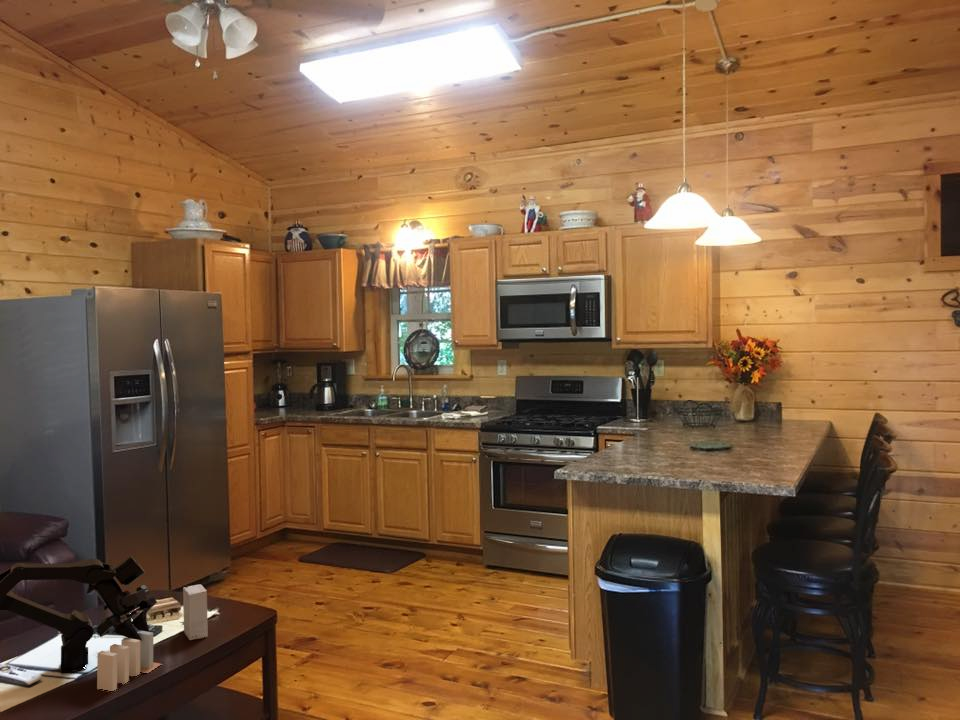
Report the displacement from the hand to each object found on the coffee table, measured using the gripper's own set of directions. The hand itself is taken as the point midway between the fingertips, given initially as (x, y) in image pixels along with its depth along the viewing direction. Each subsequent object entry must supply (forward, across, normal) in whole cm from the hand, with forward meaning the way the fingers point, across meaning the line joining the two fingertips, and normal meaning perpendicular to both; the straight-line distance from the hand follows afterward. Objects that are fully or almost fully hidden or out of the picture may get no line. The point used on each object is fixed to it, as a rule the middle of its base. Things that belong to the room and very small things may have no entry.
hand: (144, 639), depth 217 cm
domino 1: (+5, -13, +7) cm, 16 cm away
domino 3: (+5, -4, +7) cm, 10 cm away
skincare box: (+6, +24, +7) cm, 26 cm away
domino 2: (+5, -9, +7) cm, 12 cm away
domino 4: (+6, 0, +6) cm, 8 cm away
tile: (+5, 0, +7) cm, 9 cm away
